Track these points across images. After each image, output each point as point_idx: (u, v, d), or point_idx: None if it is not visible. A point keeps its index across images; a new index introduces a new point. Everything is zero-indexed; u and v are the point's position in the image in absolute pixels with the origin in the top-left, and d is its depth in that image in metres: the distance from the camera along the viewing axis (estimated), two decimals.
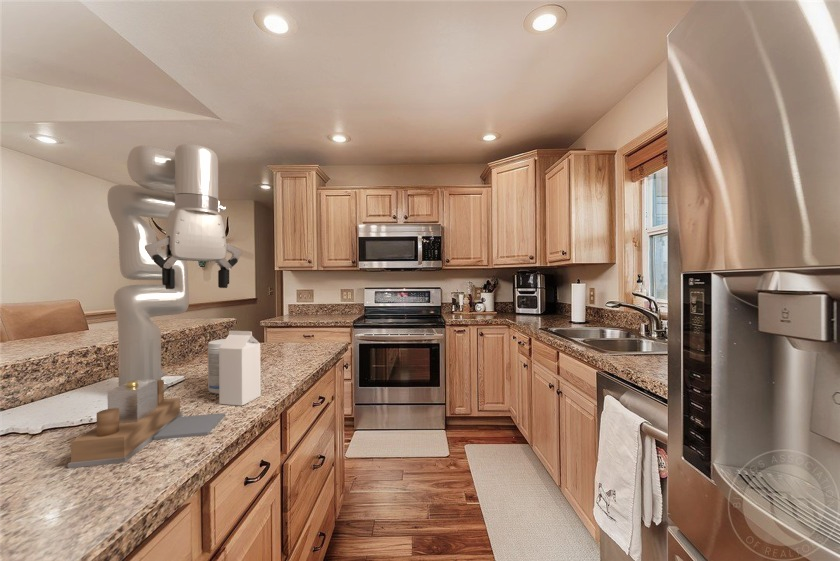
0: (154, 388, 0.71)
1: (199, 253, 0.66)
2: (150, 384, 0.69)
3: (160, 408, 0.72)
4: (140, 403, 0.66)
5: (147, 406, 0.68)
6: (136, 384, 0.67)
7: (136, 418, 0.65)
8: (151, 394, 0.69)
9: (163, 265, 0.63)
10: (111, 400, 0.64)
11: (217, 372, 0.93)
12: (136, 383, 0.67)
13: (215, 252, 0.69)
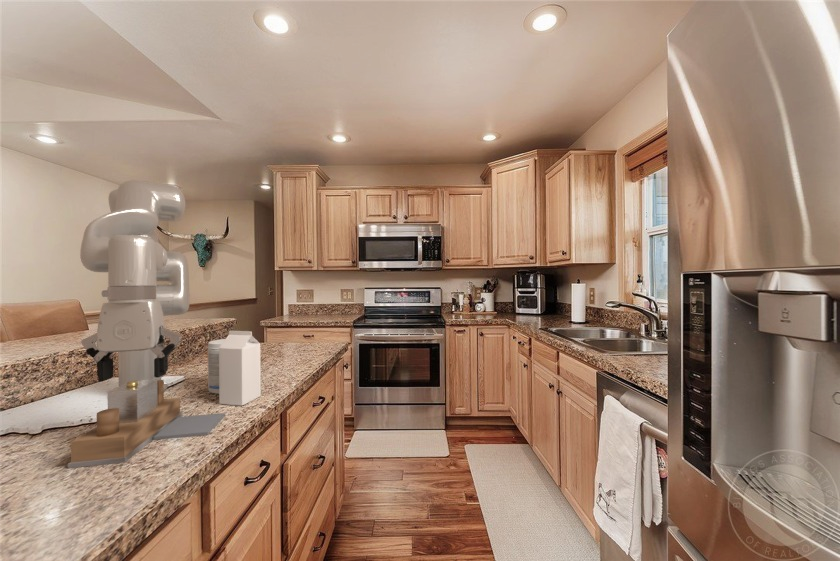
0: (154, 388, 0.71)
1: None
2: (150, 384, 0.69)
3: (160, 408, 0.72)
4: (140, 403, 0.66)
5: (147, 406, 0.68)
6: (136, 384, 0.67)
7: (136, 418, 0.65)
8: (151, 394, 0.69)
9: (170, 352, 0.70)
10: (111, 400, 0.64)
11: (217, 372, 0.93)
12: (136, 383, 0.67)
13: None
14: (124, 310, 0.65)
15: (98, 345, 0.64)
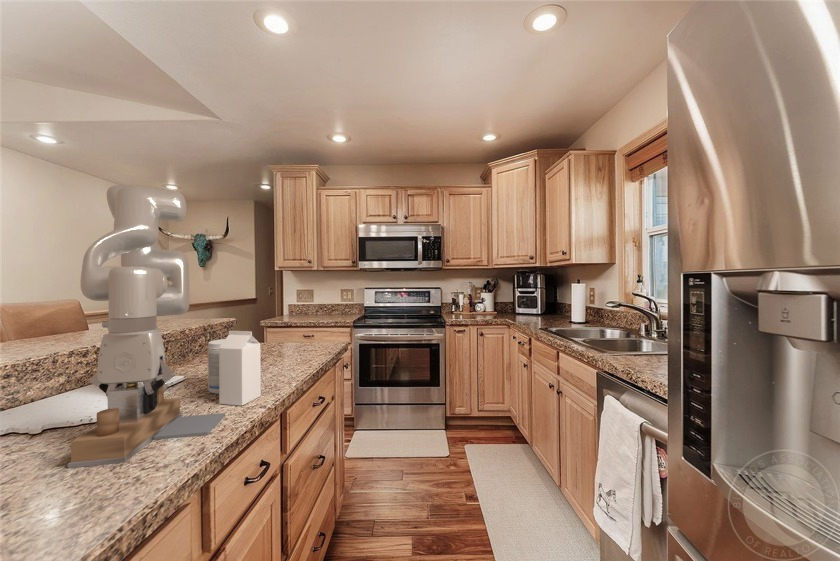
0: None
1: None
2: None
3: (160, 408, 0.72)
4: (140, 403, 0.66)
5: None
6: (136, 384, 0.67)
7: (136, 418, 0.65)
8: None
9: (159, 388, 0.70)
10: (111, 400, 0.64)
11: (217, 372, 0.93)
12: (136, 383, 0.67)
13: None
14: (124, 343, 0.65)
15: (99, 377, 0.64)
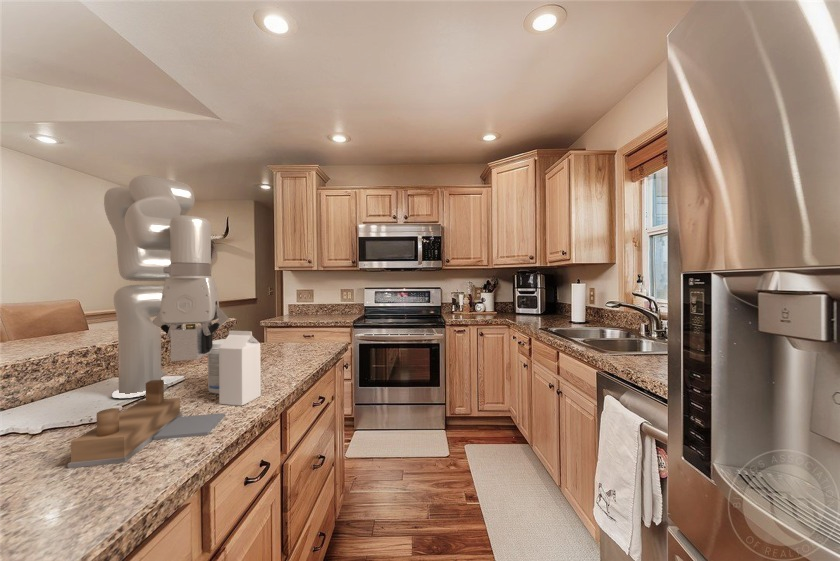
0: None
1: None
2: None
3: (160, 408, 0.72)
4: (199, 343, 0.71)
5: None
6: (194, 326, 0.72)
7: (196, 356, 0.70)
8: None
9: (213, 332, 0.75)
10: (174, 338, 0.69)
11: (217, 372, 0.93)
12: (194, 325, 0.72)
13: None
14: (185, 286, 0.70)
15: (162, 317, 0.69)
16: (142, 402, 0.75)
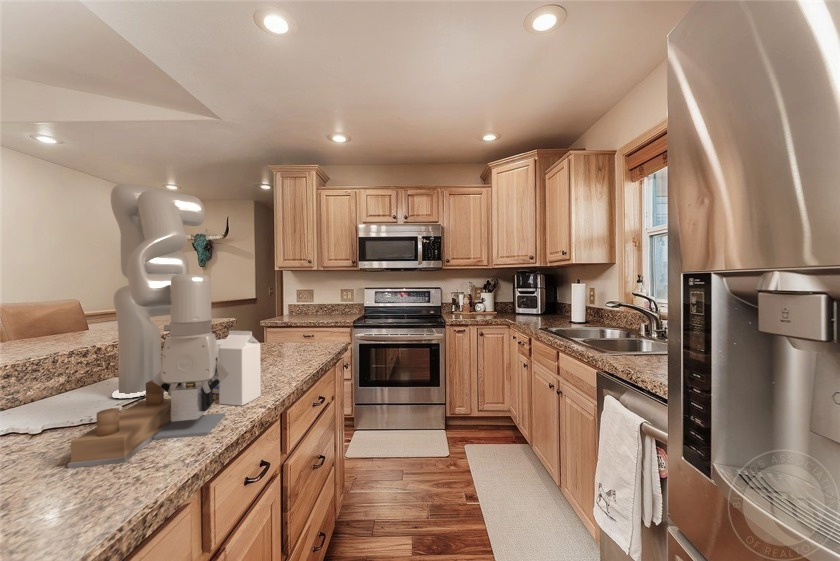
0: None
1: None
2: None
3: (160, 408, 0.72)
4: (199, 402, 0.71)
5: None
6: (194, 384, 0.72)
7: (196, 415, 0.70)
8: None
9: None
10: (174, 399, 0.69)
11: None
12: (194, 383, 0.72)
13: None
14: (185, 345, 0.70)
15: (162, 377, 0.69)
16: (142, 402, 0.75)
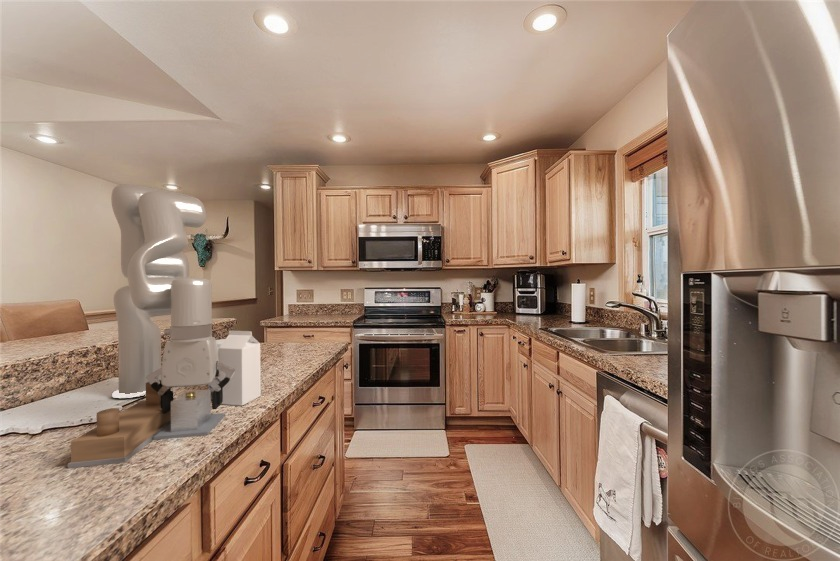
0: (208, 397, 0.76)
1: None
2: (206, 393, 0.74)
3: (160, 408, 0.72)
4: (199, 412, 0.71)
5: (203, 414, 0.73)
6: (194, 394, 0.72)
7: (196, 426, 0.70)
8: (206, 403, 0.74)
9: None
10: (174, 409, 0.69)
11: None
12: (194, 393, 0.72)
13: None
14: (186, 349, 0.70)
15: (163, 381, 0.69)
16: (142, 402, 0.75)
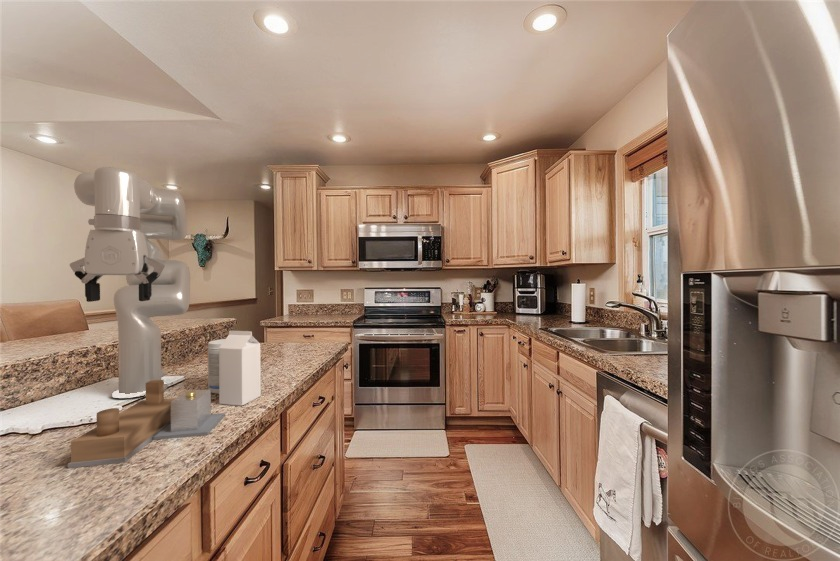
0: (208, 397, 0.76)
1: None
2: (206, 393, 0.74)
3: (160, 408, 0.72)
4: (199, 412, 0.71)
5: (203, 414, 0.73)
6: (194, 394, 0.72)
7: (196, 426, 0.70)
8: (206, 403, 0.74)
9: (153, 280, 0.76)
10: (174, 409, 0.69)
11: (217, 372, 0.93)
12: (194, 393, 0.72)
13: None
14: (110, 237, 0.70)
15: (86, 267, 0.70)
16: (142, 402, 0.75)
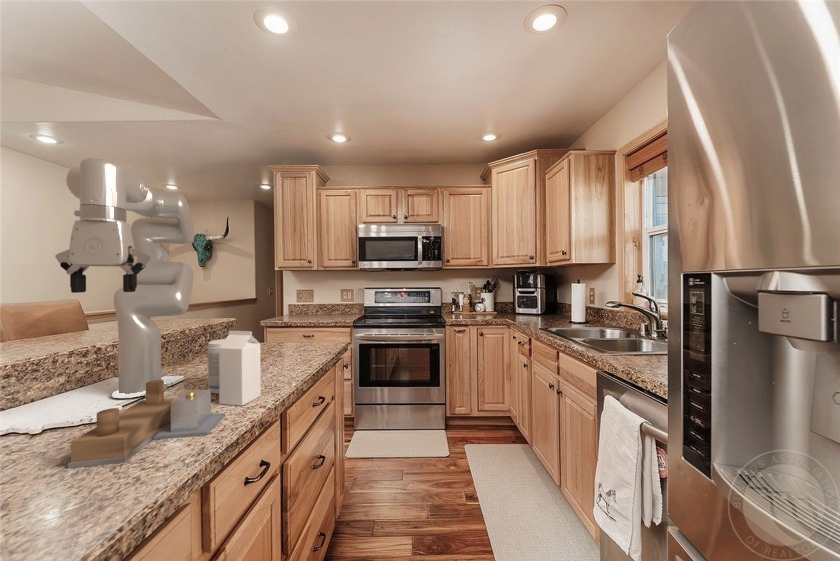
0: (208, 397, 0.76)
1: None
2: (206, 393, 0.74)
3: (160, 408, 0.72)
4: (199, 412, 0.71)
5: (203, 414, 0.73)
6: (194, 394, 0.72)
7: (196, 426, 0.70)
8: (206, 403, 0.74)
9: (139, 272, 0.76)
10: (174, 409, 0.69)
11: (217, 372, 0.93)
12: (194, 393, 0.72)
13: None
14: (94, 228, 0.70)
15: (70, 258, 0.70)
16: (142, 402, 0.75)
